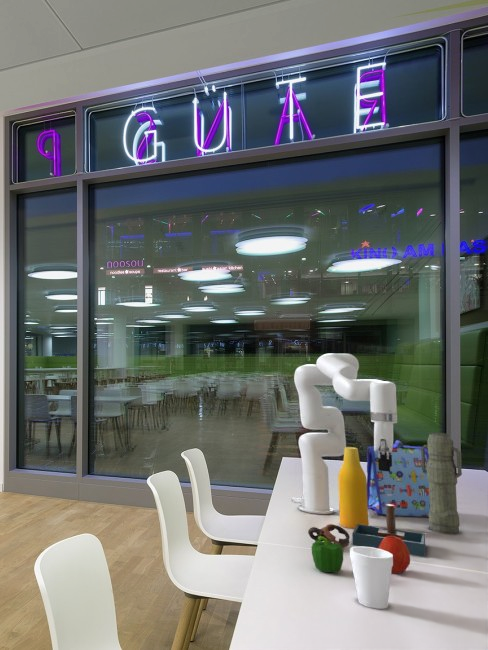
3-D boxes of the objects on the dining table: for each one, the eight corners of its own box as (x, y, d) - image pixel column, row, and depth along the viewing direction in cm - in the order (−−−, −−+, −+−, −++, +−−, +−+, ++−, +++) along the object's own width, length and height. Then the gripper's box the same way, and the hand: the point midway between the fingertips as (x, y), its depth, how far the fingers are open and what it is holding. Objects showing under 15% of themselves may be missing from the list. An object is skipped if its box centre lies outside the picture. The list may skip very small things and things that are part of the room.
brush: (378, 542, 201) (376, 505, 202) (379, 539, 205) (378, 502, 206) (404, 547, 197) (402, 508, 197) (405, 543, 201) (403, 505, 202)
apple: (417, 577, 173) (415, 539, 173) (385, 575, 174) (384, 538, 175) (402, 567, 181) (401, 531, 181) (372, 565, 182) (371, 529, 183)
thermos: (463, 536, 211) (458, 436, 214) (422, 529, 220) (418, 433, 222) (466, 531, 218) (462, 434, 220) (427, 524, 226) (422, 431, 228)
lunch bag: (421, 509, 248) (418, 439, 250) (440, 518, 234) (437, 444, 236) (364, 507, 252) (361, 438, 253) (379, 515, 238) (376, 442, 240)
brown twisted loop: (339, 543, 204) (348, 526, 201) (345, 564, 196) (355, 546, 193) (302, 532, 207) (310, 515, 203) (306, 552, 199) (316, 534, 195)
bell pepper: (338, 566, 181) (337, 533, 182) (348, 576, 173) (346, 541, 174) (307, 564, 183) (306, 531, 184) (316, 574, 175) (315, 539, 176)
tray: (352, 545, 202) (352, 532, 202) (357, 535, 213) (356, 523, 213) (424, 556, 190) (424, 544, 190) (425, 546, 201) (425, 533, 201)
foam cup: (353, 593, 161) (351, 544, 162) (394, 601, 156) (392, 550, 157) (350, 605, 153) (348, 553, 154) (394, 614, 148) (392, 560, 149)
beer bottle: (336, 522, 229) (333, 445, 231) (362, 523, 227) (359, 446, 229) (345, 529, 220) (342, 449, 222) (373, 530, 218) (369, 450, 220)
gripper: (373, 414, 213) (374, 463, 212) (368, 419, 199) (370, 471, 199) (398, 416, 209) (400, 465, 208) (395, 421, 195) (397, 474, 194)
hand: (385, 468), depth 203 cm, fingers open, 9 cm apart
